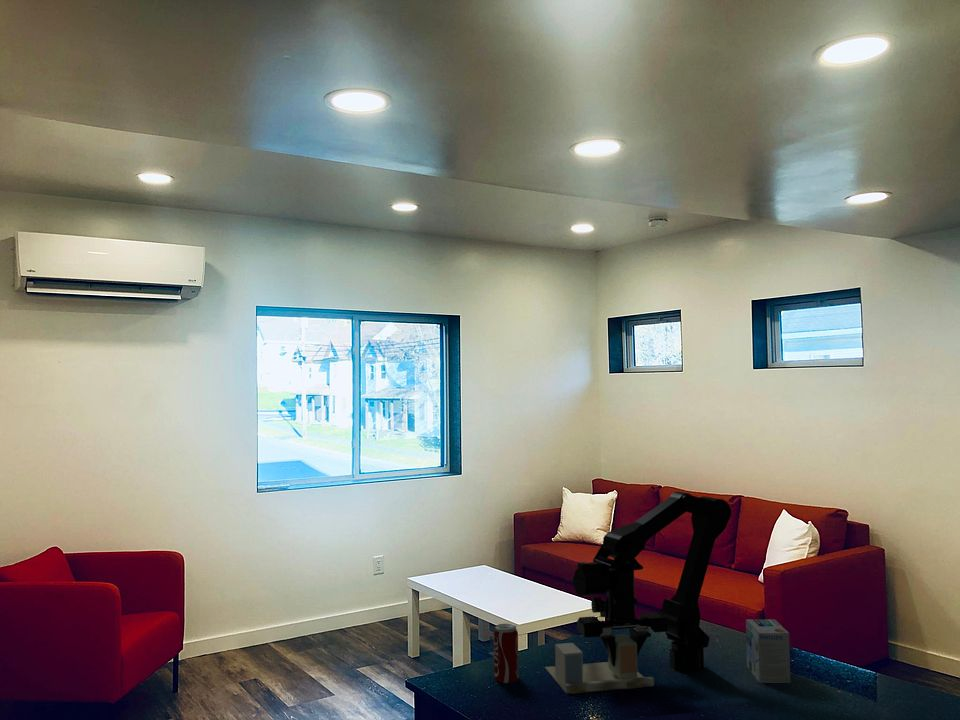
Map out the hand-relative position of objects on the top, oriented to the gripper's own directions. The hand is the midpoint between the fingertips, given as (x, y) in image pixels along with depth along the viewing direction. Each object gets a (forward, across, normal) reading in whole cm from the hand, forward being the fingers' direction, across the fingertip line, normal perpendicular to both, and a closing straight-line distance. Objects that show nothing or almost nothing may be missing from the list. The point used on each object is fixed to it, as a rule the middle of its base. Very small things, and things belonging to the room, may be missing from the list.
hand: (622, 665), depth 164 cm
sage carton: (+2, 0, 0) cm, 2 cm away
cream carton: (+3, +12, 0) cm, 12 cm away
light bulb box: (+4, -32, +3) cm, 33 cm away
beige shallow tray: (+4, +5, -2) cm, 7 cm away
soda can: (+4, +24, -5) cm, 25 cm away
